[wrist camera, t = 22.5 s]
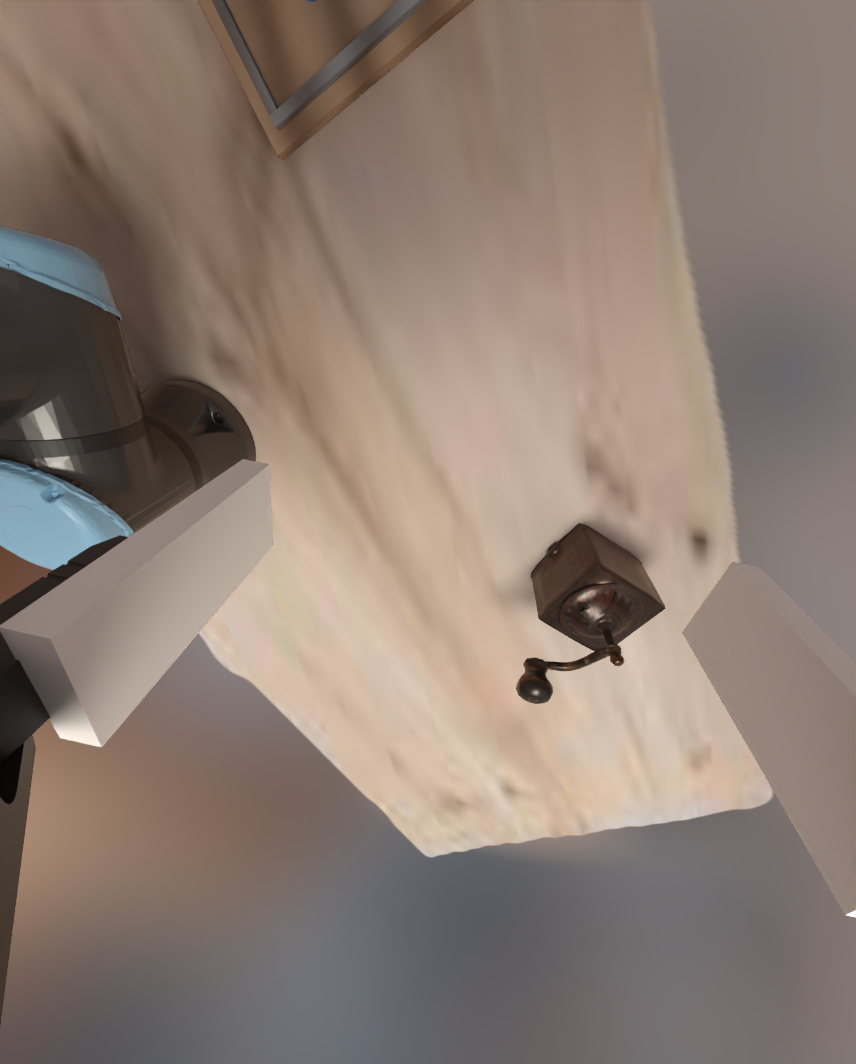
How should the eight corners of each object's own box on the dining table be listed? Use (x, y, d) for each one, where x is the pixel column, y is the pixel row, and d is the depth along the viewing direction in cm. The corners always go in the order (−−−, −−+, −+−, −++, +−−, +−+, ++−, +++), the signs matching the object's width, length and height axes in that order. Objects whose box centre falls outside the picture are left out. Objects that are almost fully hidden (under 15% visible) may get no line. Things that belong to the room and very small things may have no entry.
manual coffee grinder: (576, 518, 51) (615, 615, 36) (642, 560, 53) (706, 669, 38) (502, 594, 59) (508, 700, 43) (562, 628, 61) (588, 742, 45)
